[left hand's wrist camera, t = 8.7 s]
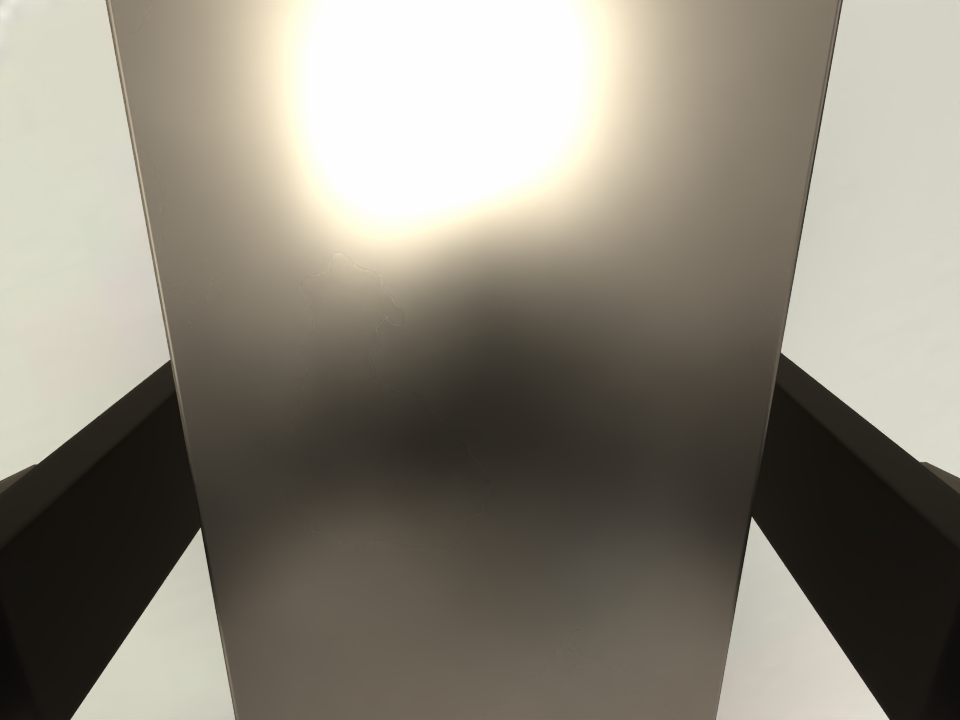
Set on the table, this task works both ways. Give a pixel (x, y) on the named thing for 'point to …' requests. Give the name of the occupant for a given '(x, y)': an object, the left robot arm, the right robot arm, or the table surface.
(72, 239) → the table surface
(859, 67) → the table surface
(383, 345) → the bar
